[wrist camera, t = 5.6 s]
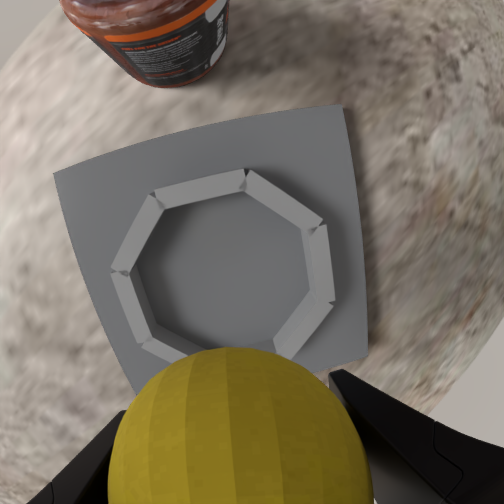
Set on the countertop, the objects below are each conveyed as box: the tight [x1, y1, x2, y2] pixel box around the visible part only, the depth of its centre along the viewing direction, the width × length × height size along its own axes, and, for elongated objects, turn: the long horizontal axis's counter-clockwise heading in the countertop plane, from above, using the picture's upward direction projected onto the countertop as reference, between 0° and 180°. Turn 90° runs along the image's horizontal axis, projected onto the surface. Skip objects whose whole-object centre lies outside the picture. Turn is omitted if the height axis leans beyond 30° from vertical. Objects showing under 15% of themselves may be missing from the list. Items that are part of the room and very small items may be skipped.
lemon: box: [108, 347, 374, 504], centre depth 6 cm, size 6×6×8 cm
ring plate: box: [53, 104, 368, 395], centre depth 17 cm, size 16×16×3 cm
